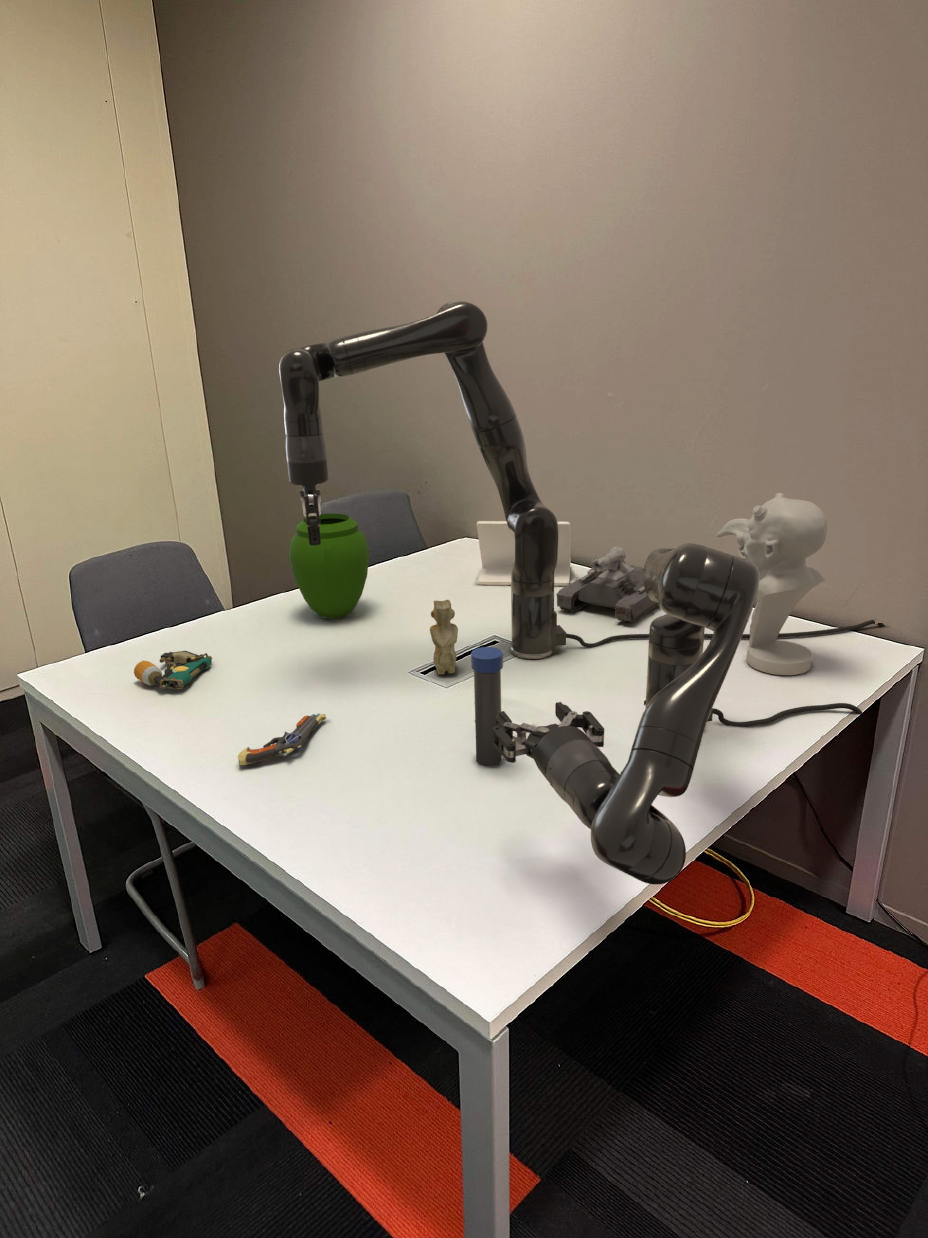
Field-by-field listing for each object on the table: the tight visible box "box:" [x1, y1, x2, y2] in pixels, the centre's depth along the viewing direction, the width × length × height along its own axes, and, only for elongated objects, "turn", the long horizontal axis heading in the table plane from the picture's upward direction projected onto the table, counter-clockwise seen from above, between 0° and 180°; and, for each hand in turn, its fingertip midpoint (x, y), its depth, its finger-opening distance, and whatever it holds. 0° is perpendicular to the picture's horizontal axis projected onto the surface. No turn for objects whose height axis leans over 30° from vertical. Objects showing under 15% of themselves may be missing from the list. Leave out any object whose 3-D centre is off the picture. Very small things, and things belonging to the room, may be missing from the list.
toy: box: [556, 546, 659, 624], centre depth 212 cm, size 25×20×15 cm
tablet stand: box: [476, 520, 572, 587], centre depth 236 cm, size 18×25×17 cm
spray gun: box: [133, 650, 213, 690], centre depth 180 cm, size 4×17×15 cm
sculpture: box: [429, 599, 459, 675], centre depth 177 cm, size 6×7×15 cm
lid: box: [470, 646, 504, 673], centre depth 138 cm, size 5×5×2 cm
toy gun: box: [237, 713, 327, 766], centre depth 151 cm, size 3×19×10 cm
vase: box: [288, 512, 370, 620], centre depth 209 cm, size 20×20×24 cm
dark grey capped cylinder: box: [473, 669, 503, 768], centre depth 141 cm, size 4×4×19 cm
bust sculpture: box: [716, 492, 828, 676], centre depth 176 cm, size 16×24×35 cm
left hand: (314, 539), depth 170 cm, fingers open, 8 cm apart
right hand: (529, 712), depth 121 cm, fingers open, 8 cm apart
